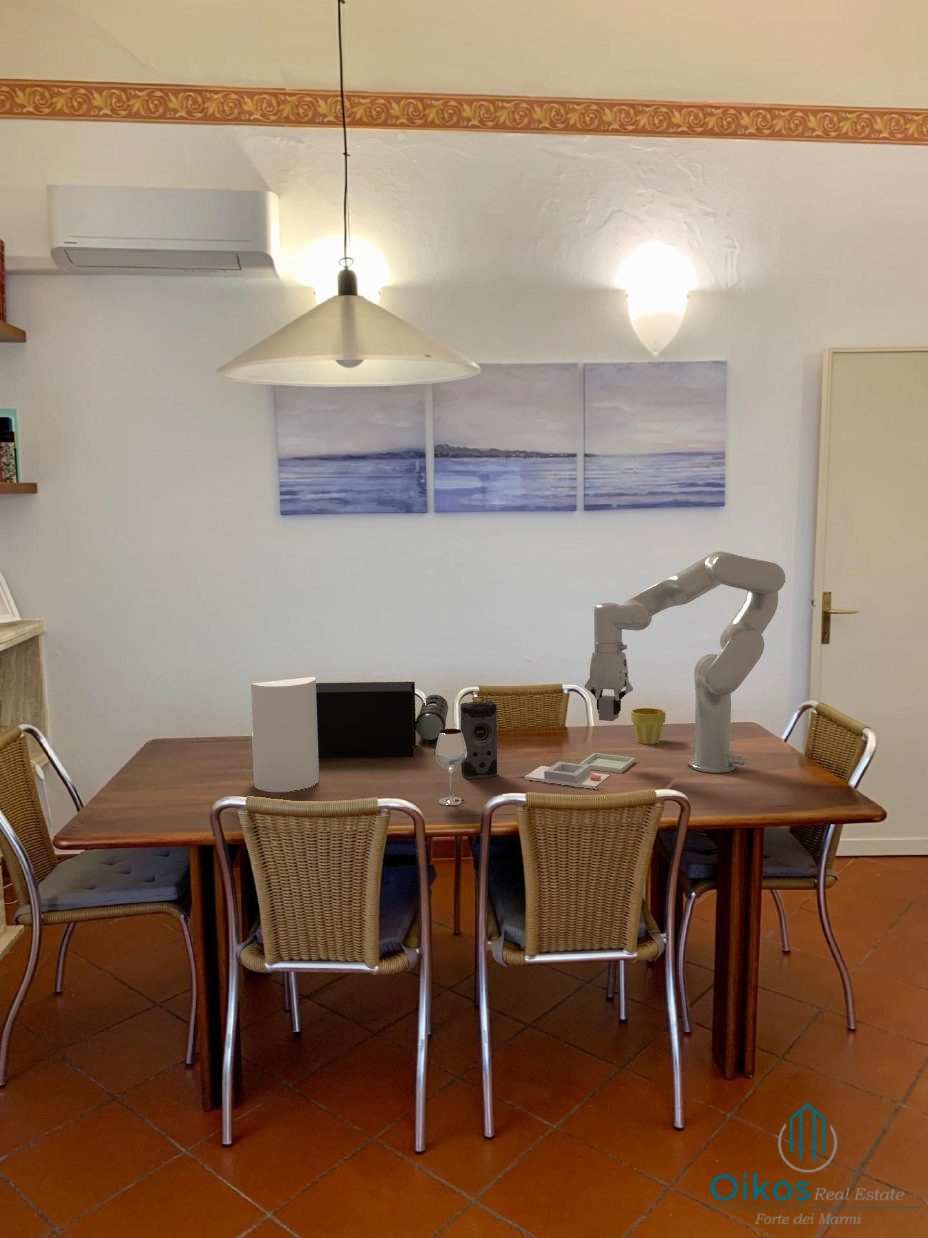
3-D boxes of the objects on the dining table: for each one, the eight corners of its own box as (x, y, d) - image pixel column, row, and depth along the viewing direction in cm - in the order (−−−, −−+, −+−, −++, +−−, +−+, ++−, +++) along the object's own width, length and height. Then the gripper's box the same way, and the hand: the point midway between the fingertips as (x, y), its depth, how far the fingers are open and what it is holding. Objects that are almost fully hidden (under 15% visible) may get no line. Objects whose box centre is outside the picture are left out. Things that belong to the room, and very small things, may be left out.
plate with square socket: (609, 778, 245) (609, 767, 244) (595, 790, 235) (595, 778, 235) (541, 769, 254) (541, 758, 254) (524, 780, 245) (524, 769, 244)
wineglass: (467, 796, 232) (466, 727, 229) (468, 806, 223) (467, 735, 221) (435, 797, 231) (433, 727, 229) (435, 807, 223) (433, 735, 221)
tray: (634, 764, 257) (634, 757, 257) (621, 776, 247) (621, 768, 247) (594, 759, 263) (594, 753, 263) (579, 770, 253) (579, 763, 252)
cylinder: (328, 785, 242) (325, 681, 239) (265, 796, 234) (260, 689, 230) (306, 769, 257) (302, 671, 254) (245, 779, 249) (241, 678, 245)
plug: (618, 717, 254) (618, 696, 254) (612, 721, 250) (612, 699, 249) (605, 716, 256) (604, 695, 256) (598, 720, 252) (598, 698, 251)
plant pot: (636, 736, 289) (636, 706, 288) (668, 739, 284) (668, 708, 283) (627, 744, 280) (627, 713, 278) (660, 747, 275) (660, 715, 274)
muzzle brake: (449, 723, 310) (448, 693, 309) (445, 744, 282) (444, 712, 281) (421, 723, 310) (420, 693, 309) (414, 745, 283) (413, 712, 281)
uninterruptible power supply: (413, 758, 267) (411, 691, 265) (298, 760, 267) (296, 693, 265) (416, 744, 283) (414, 680, 281) (307, 745, 284) (305, 682, 281)
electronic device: (465, 780, 245) (464, 707, 243) (460, 773, 251) (458, 702, 248) (498, 776, 248) (498, 704, 245) (492, 770, 253) (491, 700, 251)
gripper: (641, 647, 250) (642, 712, 252) (584, 644, 258) (585, 708, 260) (633, 651, 244) (633, 718, 246) (574, 648, 251) (575, 713, 254)
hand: (608, 712), depth 253 cm, fingers closed on plug, 3 cm apart
